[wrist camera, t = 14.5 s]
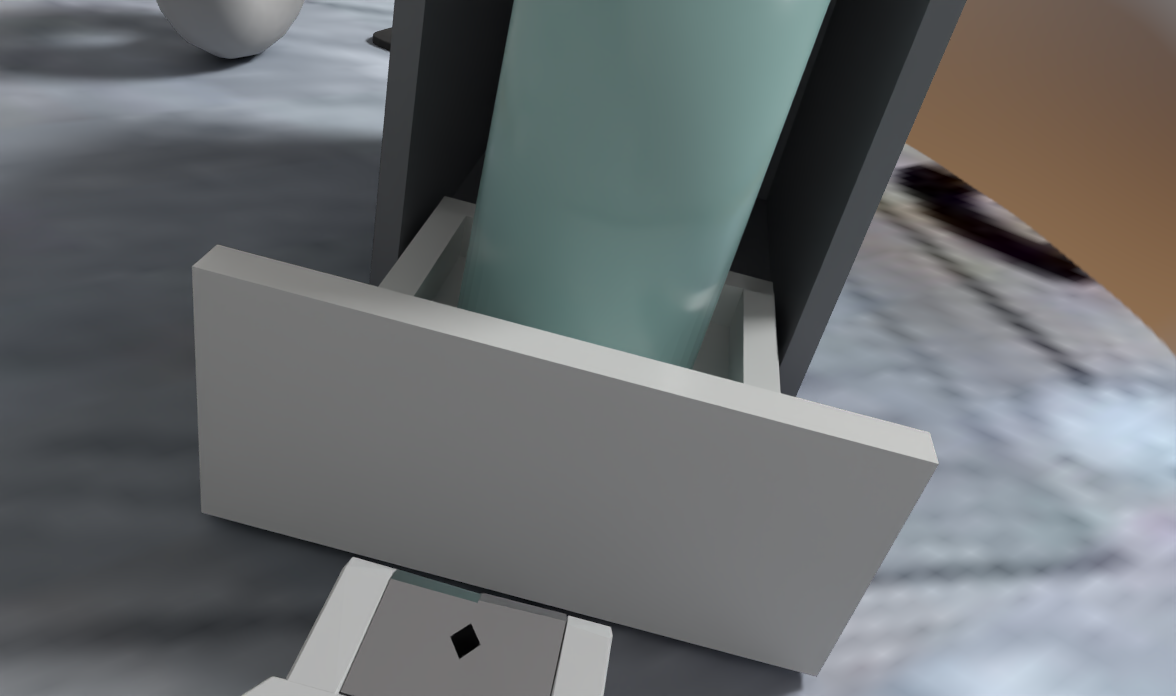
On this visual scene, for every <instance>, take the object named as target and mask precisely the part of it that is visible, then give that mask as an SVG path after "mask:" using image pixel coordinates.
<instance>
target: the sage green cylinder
mask: <svg viewBox="0 0 1176 696" xmlns="http://www.w3.org/2000/svg"><path fill="white" fill-rule="evenodd" d="M829 3H830V0H514V2H513V8H512V13H511V19H510V24H509V30H508V35H507V40H506V46H505V51H504V57H503V62H502V67H501V73H500V78H499V84H498V89H497V94H496V100H495V105H494V111H493V116H492V121H491V127H490V132H489V138H488V143H487V148H486V154H485V159H484V165H483V170H482V175H481V181H480V186H479V192H478V197H477V202H476V208H475V213H474V219H473V224H472V229H471V235H470V240H469V246H468V251H467V256H466V262H465V267H464V273H463V278H462V283H461V289H460V294H459V300H458V305H457V308H460V309H464V310H468V311H471V312H475V313H479V314H483V315H486V316H490V317H494V318H498V319H502V320H505V321H509V322H513V323H517V324H521V325H524V326H528V327H532V328H536V329H539V330H543V331H547V332H551V333H555V334H558V335H562V336H566V337H570V338H574V339H577V340H581V341H585V342H589V343H592V344H596V345H600V346H604V347H608V348H611V349H615V350H619V351H623V352H627V353H630V354H634V355H638V356H642V357H645V358H649V359H653V360H657V361H661V362H664V363H668V364H672V365H676V366H680V367H683V368H687V369H691V370H692V368H693V366H694V363H695V360H696V358H697V355H698V352H699V350H700V347H701V344H702V342H703V339H704V336H705V334H706V331H707V328H708V326H709V323H710V320H711V318H712V315H713V312H714V310H715V307H716V304H717V302H718V299H719V296H720V294H721V291H722V288H723V286H724V283H725V280H726V278H727V275H728V272H729V270H730V267H731V264H732V262H733V259H734V256H735V254H736V251H737V248H738V246H739V243H740V240H741V238H742V235H743V232H744V230H745V227H746V224H747V222H748V219H749V216H750V214H751V211H752V208H753V206H754V203H755V200H756V198H757V195H758V192H759V190H760V187H761V184H762V182H763V179H764V176H765V174H766V171H767V168H768V166H769V163H770V160H771V158H772V155H773V152H774V150H775V147H776V144H777V142H778V139H779V136H780V134H781V131H782V128H783V126H784V123H785V120H786V118H787V115H788V112H789V110H790V107H791V104H792V102H793V99H794V96H795V94H796V91H797V88H798V86H799V83H800V80H801V78H802V75H803V72H804V70H805V67H806V64H807V62H808V59H809V56H810V54H811V51H812V48H813V46H814V43H815V40H816V38H817V35H818V32H819V30H820V27H821V24H822V22H823V19H824V16H825V14H826V11H827V8H828V6H829Z"/></svg>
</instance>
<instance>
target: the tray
mask: <svg viewBox="0 0 1176 696" xmlns="http://www.w3.org/2000/svg"><path fill="white" fill-rule="evenodd" d="M475 208H476V204H473V203H469V202H466V201H462V200H458V199H454V198H450V197H447V196H444V198H443V199H442V200H441V202H440V203H439V205H438V206H437V207H436V209H435V210H434V211H433V213H432V214H431V215H430V217H429V218H428V219H427V221H426V222H425V224H424V225H423V226H422V228H421V229H420V230H419V232H418V233H417V234H416V236H415V237H414V239H413V240H412V241H411V243H410V244H409V245H408V247H407V248H406V249H405V251H404V252H403V254H402V255H401V256H400V258H399V259H398V260H397V262H396V263H395V264H394V266H393V267H392V269H391V270H390V271H389V273H388V274H387V275H386V277H385V278H384V279H383V281H382V282H381V284H380V285H379V286H378V287H377V286H373V285H369V284H365V283H362V282H358V281H354V280H350V279H346V278H343V277H339V276H335V275H331V274H327V273H324V272H320V271H316V270H312V269H309V268H305V267H301V266H297V265H293V264H290V263H286V262H282V261H278V260H275V259H271V258H267V257H263V256H259V255H256V254H252V253H248V252H244V251H240V250H237V249H233V248H229V247H225V246H222V245H218V244H217V245H216V246H215V247H214V248H213V249H211V250H210V251H209V252H208V253H207V254H206V255H204V256H203V257H202V258H201V259H200V260H199V261H198V262H196V263H195V264H194V265H193V266H192V283H193V309H194V335H195V361H196V387H197V413H198V439H199V465H200V492H201V513H205V514H209V515H212V516H216V517H220V518H224V519H227V520H231V521H235V522H239V523H242V524H246V525H250V526H254V527H257V528H261V529H265V530H269V531H272V532H276V533H280V534H284V535H287V536H291V537H295V538H299V539H302V540H306V541H310V542H314V543H317V544H321V545H325V546H328V547H332V548H336V549H340V550H343V551H347V552H351V553H355V554H358V555H362V556H366V557H370V558H373V559H377V560H381V561H385V562H388V563H392V564H396V565H400V566H403V567H407V568H411V569H415V570H418V571H422V572H426V573H430V574H433V575H437V576H441V577H445V578H448V579H452V580H456V581H460V582H463V583H467V584H471V585H475V586H478V587H482V588H486V589H490V590H493V591H497V592H501V593H505V594H508V595H512V596H516V597H520V598H523V599H527V600H531V601H535V602H538V603H542V604H546V605H550V606H553V607H557V608H561V609H565V610H568V611H572V612H576V613H580V614H583V615H587V616H591V617H595V618H598V619H602V620H606V621H610V622H613V623H617V624H621V625H625V626H628V627H632V628H636V629H640V630H643V631H647V632H651V633H655V634H658V635H662V636H666V637H670V638H673V639H677V640H681V641H685V642H688V643H692V644H696V645H700V646H703V647H707V648H711V649H715V650H718V651H722V652H726V653H730V654H733V655H737V656H741V657H745V658H748V659H752V660H756V661H760V662H763V663H767V664H771V665H774V666H778V667H782V668H786V669H789V670H793V671H797V672H801V673H804V674H808V675H812V676H816V677H817V675H818V674H819V672H820V670H821V668H822V667H823V665H824V663H825V661H826V660H827V658H828V656H829V655H830V653H831V651H832V649H833V648H834V646H835V644H836V642H837V641H838V639H839V637H840V635H841V634H842V632H843V630H844V628H845V627H846V625H847V623H848V621H849V620H850V618H851V616H852V614H853V613H854V611H855V609H856V607H857V606H858V604H859V602H860V600H861V599H862V597H863V595H864V593H865V592H866V590H867V588H868V587H869V585H870V583H871V581H872V580H873V578H874V576H875V574H876V573H877V571H878V569H879V567H880V566H881V564H882V562H883V560H884V559H885V557H886V555H887V553H888V552H889V550H890V548H891V546H892V545H893V543H894V541H895V539H896V538H897V536H898V534H899V532H900V531H901V529H902V527H903V526H904V524H905V522H906V520H907V519H908V517H909V515H910V513H911V512H912V510H913V508H914V506H915V505H916V503H917V501H918V499H919V498H920V496H921V494H922V492H923V491H924V489H925V487H926V485H927V484H928V482H929V480H930V478H931V477H932V475H933V473H934V471H935V470H936V468H937V466H938V464H939V463H938V459H937V456H936V452H935V449H934V446H933V442H932V439H931V435H930V433H929V432H926V431H922V430H918V429H914V428H910V427H907V426H903V425H899V424H895V423H891V422H888V421H884V420H880V419H876V418H873V417H869V416H865V415H861V414H857V413H854V412H850V411H846V410H842V409H838V408H835V407H831V406H827V405H823V404H820V403H816V402H812V401H808V400H804V399H801V398H797V397H793V396H789V395H786V394H782V393H781V392H780V376H779V360H778V344H777V327H776V311H775V295H774V293H773V282H770V281H766V280H762V279H758V278H754V277H751V276H747V275H743V274H739V273H735V272H732V271H729V272H728V275H727V278H726V280H725V283H724V286H723V288H722V291H721V294H720V296H719V299H718V302H717V304H716V307H715V310H714V312H713V315H712V318H711V320H710V323H709V326H708V328H707V331H706V334H705V336H704V339H703V342H702V344H701V347H700V350H699V352H698V355H697V358H696V360H695V363H694V366H693V368H692V370H691V369H687V368H683V367H680V366H676V365H672V364H668V363H664V362H661V361H657V360H653V359H649V358H645V357H642V356H638V355H634V354H630V353H627V352H623V351H619V350H615V349H611V348H608V347H604V346H600V345H596V344H592V343H589V342H585V341H581V340H577V339H574V338H570V337H566V336H562V335H558V334H555V333H551V332H547V331H543V330H539V329H536V328H532V327H528V326H524V325H521V324H517V323H513V322H509V321H505V320H502V319H498V318H494V317H490V316H486V315H483V314H479V313H475V312H471V311H468V310H464V309H460V308H457V305H458V300H459V294H460V289H461V283H462V278H463V273H464V267H465V262H466V256H467V251H468V246H469V240H470V235H471V229H472V224H473V219H474V213H475Z"/></svg>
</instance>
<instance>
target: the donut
mask: <svg viewBox="0 0 1176 696" xmlns="http://www.w3.org/2000/svg"><path fill="white" fill-rule="evenodd" d="M156 1H157V3H158V6H159V8H160V10H161V12H162V13H163V14H164V16H165V17H166V18H167V19H168V21H169V22H170V23H171V25H172V26H173V27H174V29H175V30H176V31H177V32H178V34H179V35H180V36H181V37H182V38H184V39H185V40H186V41H187V42H188V43H190V44H192V45H194V46H196V47H198V48H200V49H202V50H205V51H207V52H209V53H211V54H213V55H215V56H217V57H220V58H228V59H233V58H239V57H245V56H251V55H255V54H260V53H262V52H263V51H264V50H266V49H267V48H268V47H270V46H271V45H272V44H274V43H275V42H276V41H277V40H279V39H280V38H281V37H283V36H284V35H285V34H286V32H287V31H288V29H289V28H290V26H291V25H292V23H293V22H294V21H295V19H296V18H297V16H298V15H299V12H300V10H301V8H302V6H303V3H304V1H305V0H156Z"/></svg>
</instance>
